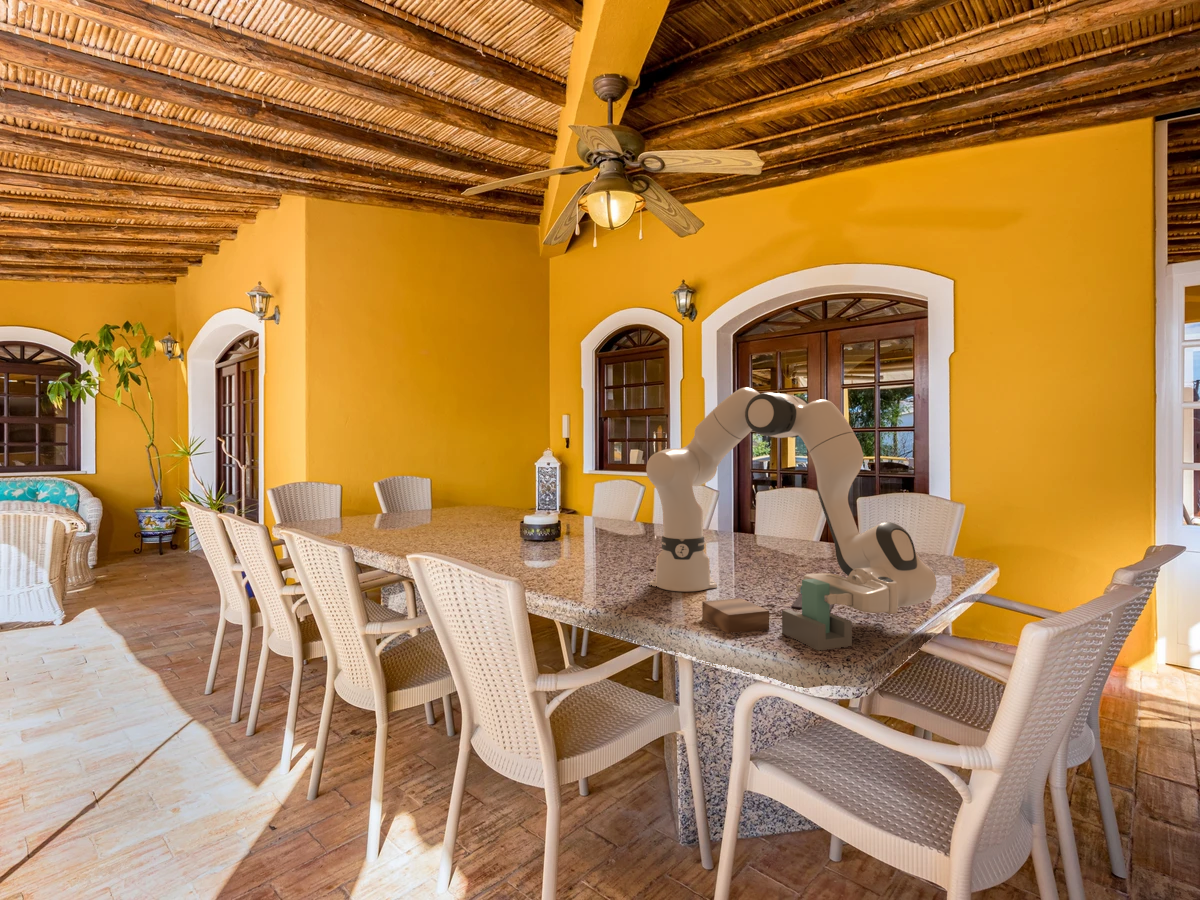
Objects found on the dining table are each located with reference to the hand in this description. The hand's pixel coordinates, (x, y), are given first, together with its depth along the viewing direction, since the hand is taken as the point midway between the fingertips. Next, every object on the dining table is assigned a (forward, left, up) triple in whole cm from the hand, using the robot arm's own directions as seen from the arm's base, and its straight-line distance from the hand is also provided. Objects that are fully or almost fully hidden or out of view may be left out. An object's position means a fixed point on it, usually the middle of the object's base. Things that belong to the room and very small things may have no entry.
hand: (812, 594), depth 130 cm
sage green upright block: (0, +1, -8) cm, 8 cm away
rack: (0, +1, -10) cm, 10 cm away
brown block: (-9, -15, -10) cm, 20 cm away
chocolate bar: (-32, +6, -10) cm, 34 cm away
